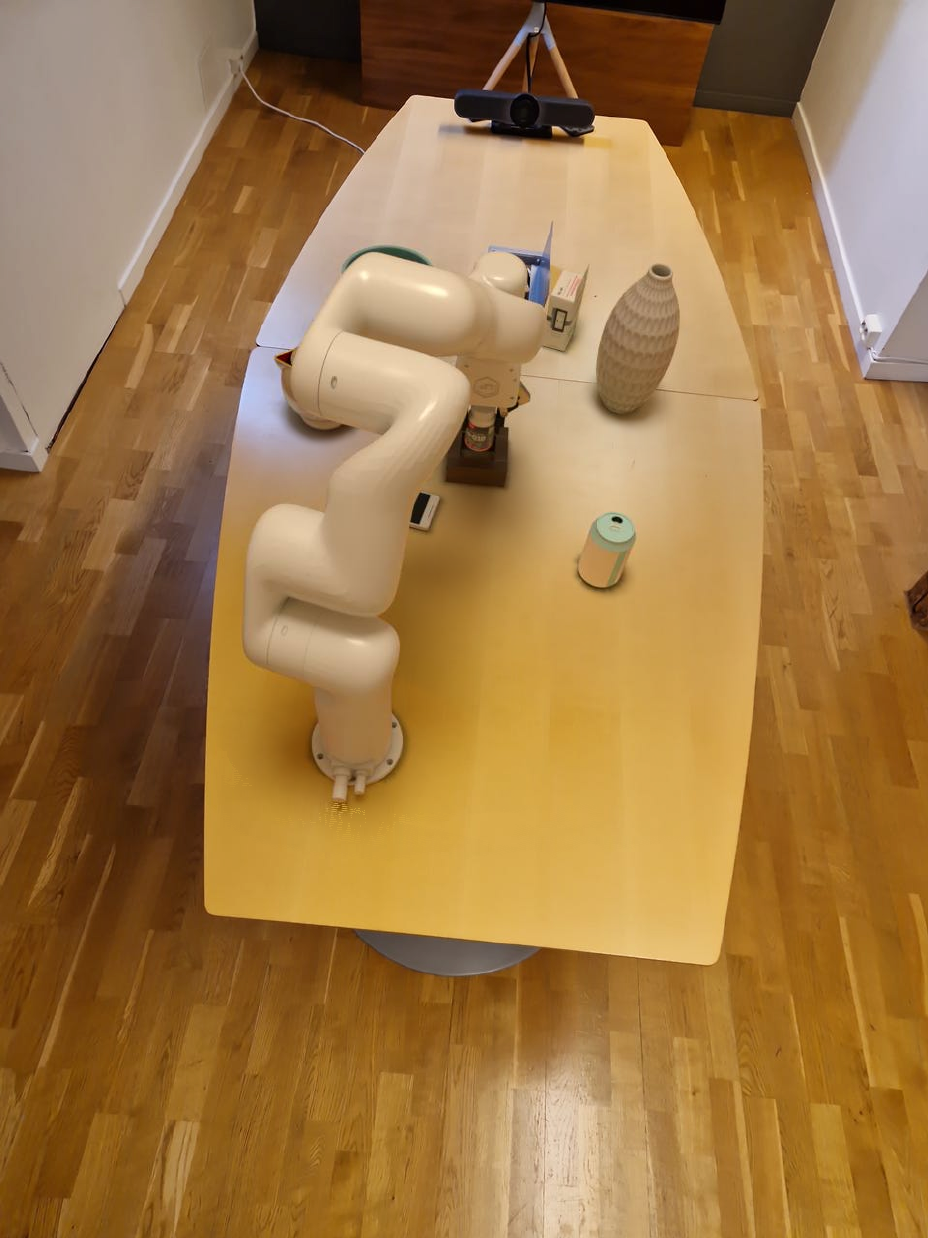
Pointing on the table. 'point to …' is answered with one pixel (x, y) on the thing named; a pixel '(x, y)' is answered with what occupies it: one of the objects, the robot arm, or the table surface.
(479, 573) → the table surface
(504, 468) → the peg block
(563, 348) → the ink box
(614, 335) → the vase
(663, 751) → the table surface
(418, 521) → the smartphone
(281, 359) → the teapot
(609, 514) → the can
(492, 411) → the pill bottle
